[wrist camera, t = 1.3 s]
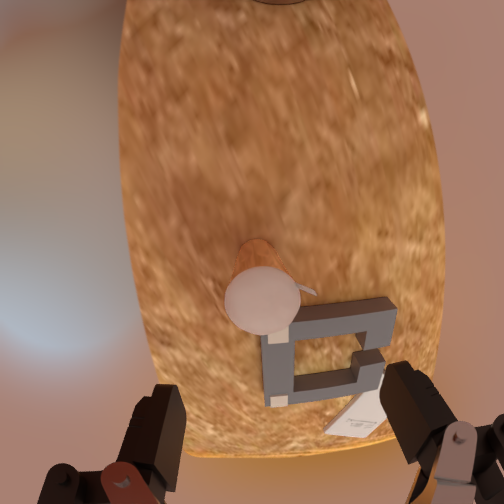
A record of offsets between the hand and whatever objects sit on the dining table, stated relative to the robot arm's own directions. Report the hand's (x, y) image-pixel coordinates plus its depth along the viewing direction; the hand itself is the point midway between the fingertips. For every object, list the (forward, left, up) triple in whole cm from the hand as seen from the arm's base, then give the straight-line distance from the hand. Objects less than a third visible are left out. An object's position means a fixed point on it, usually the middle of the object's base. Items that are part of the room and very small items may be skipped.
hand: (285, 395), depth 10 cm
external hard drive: (+23, +14, -16) cm, 31 cm away
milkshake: (0, 0, -16) cm, 16 cm away
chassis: (+11, +6, -16) cm, 20 cm away
